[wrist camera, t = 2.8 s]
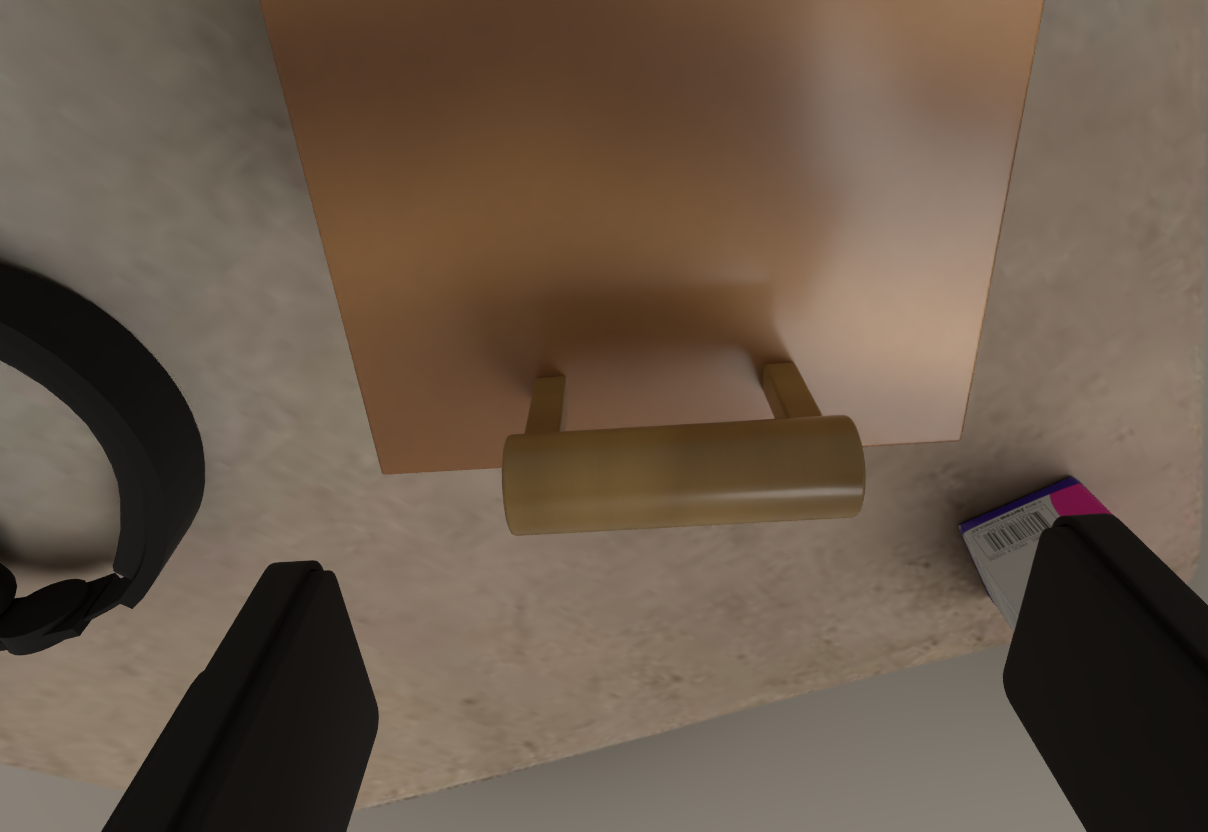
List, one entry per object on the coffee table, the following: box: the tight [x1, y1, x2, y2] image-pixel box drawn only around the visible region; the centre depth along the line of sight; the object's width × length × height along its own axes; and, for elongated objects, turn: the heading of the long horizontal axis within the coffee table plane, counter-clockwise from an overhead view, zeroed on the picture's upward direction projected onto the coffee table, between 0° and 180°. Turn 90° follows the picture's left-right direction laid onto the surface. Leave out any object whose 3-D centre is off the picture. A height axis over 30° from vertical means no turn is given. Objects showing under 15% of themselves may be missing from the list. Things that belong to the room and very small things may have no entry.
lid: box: [259, 0, 1045, 536], centre depth 12 cm, size 15×14×5 cm
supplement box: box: [958, 477, 1113, 632], centre depth 31 cm, size 6×6×12 cm
